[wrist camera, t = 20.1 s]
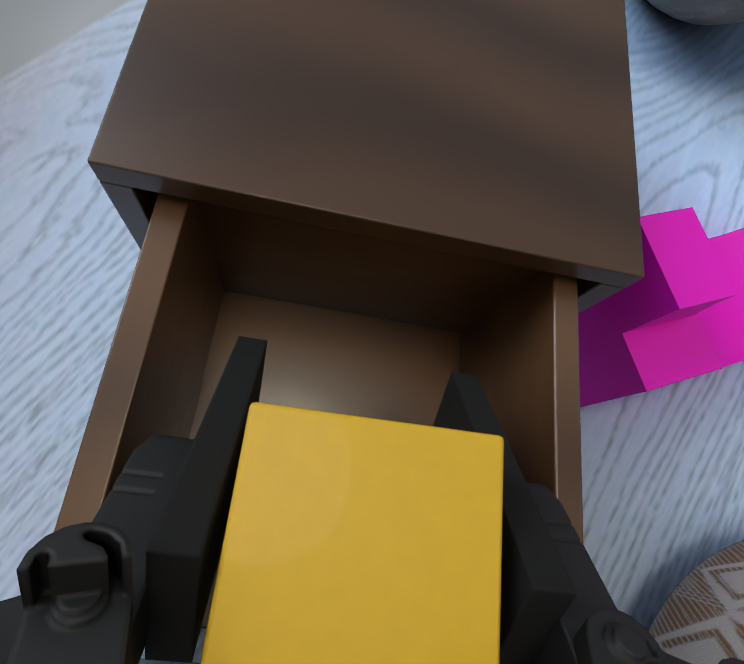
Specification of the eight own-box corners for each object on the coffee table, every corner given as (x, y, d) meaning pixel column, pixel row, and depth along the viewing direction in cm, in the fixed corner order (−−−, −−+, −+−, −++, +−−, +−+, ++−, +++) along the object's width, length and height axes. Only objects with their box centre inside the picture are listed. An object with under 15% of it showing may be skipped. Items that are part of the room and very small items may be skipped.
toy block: (579, 406, 23) (710, 376, 16) (535, 291, 25) (637, 217, 18) (796, 342, 27) (978, 294, 20) (746, 245, 28) (899, 169, 21)
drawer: (458, 871, 16) (647, 1280, 8) (41, 868, 14) (-283, 1402, 6) (483, 329, 22) (602, 242, 14) (195, 276, 21) (140, 142, 12)
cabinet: (486, 364, 23) (645, 277, 13) (177, 311, 21) (86, 161, 11) (497, 98, 28) (617, -109, 18) (251, 35, 26) (235, -237, 16)
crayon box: (241, 589, 16) (177, 777, 6) (266, 444, 18) (250, 399, 8) (366, 600, 17) (499, 785, 7) (381, 459, 19) (506, 435, 8)
